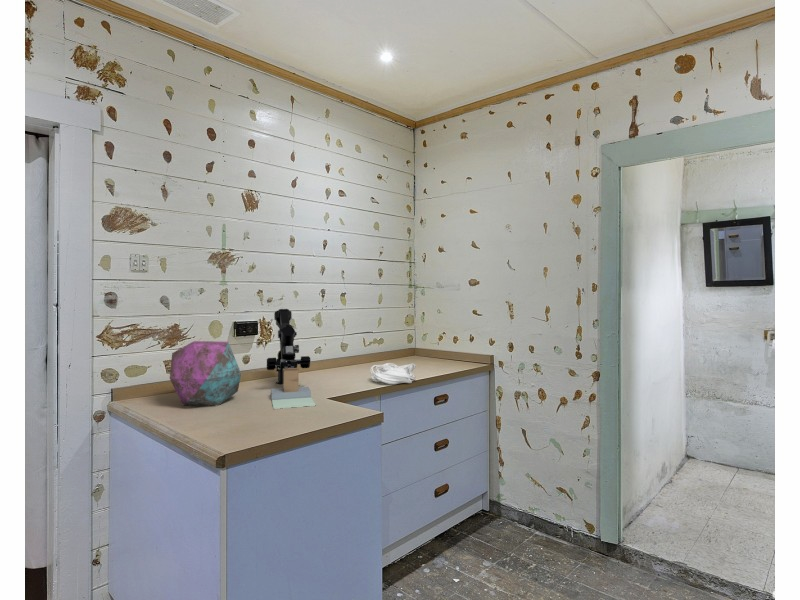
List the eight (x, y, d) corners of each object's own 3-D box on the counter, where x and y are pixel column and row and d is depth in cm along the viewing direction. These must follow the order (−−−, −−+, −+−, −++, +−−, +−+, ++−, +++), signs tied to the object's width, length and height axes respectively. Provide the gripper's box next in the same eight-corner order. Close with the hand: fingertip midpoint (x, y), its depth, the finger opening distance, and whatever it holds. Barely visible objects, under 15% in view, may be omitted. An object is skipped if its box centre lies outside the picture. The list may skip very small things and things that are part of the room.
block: (282, 389, 205) (282, 368, 205) (297, 388, 207) (297, 367, 207) (283, 392, 200) (283, 370, 199) (298, 391, 201) (298, 370, 201)
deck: (270, 396, 206) (270, 389, 206) (308, 393, 211) (308, 386, 211) (271, 400, 198) (271, 393, 198) (310, 398, 203) (310, 391, 203)
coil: (398, 376, 256) (397, 359, 256) (428, 382, 237) (427, 363, 237) (358, 382, 241) (358, 364, 241) (387, 389, 222) (386, 369, 222)
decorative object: (137, 399, 185) (174, 347, 209) (206, 436, 195) (233, 382, 219) (169, 360, 170) (205, 308, 194) (242, 402, 180) (267, 348, 204)
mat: (271, 401, 197) (271, 400, 197) (311, 398, 202) (311, 397, 202) (273, 409, 184) (273, 408, 184) (315, 406, 189) (315, 405, 189)
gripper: (266, 339, 209) (267, 368, 199) (309, 338, 215) (313, 366, 205) (266, 355, 217) (267, 384, 207) (307, 353, 223) (310, 381, 212)
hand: (289, 378), depth 207 cm, fingers closed
